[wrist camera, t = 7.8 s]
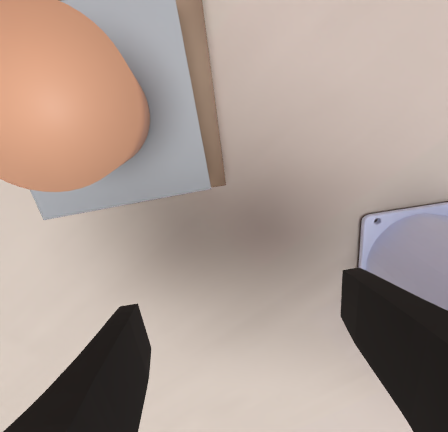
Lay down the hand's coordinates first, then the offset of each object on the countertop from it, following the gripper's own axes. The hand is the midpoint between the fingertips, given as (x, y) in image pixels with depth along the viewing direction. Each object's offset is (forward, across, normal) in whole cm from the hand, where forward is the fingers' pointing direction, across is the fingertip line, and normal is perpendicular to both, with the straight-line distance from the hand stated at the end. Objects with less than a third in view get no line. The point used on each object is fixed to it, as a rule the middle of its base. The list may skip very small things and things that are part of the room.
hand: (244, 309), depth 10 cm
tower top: (+8, +5, -7) cm, 12 cm away
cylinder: (+5, +5, -7) cm, 10 cm away
